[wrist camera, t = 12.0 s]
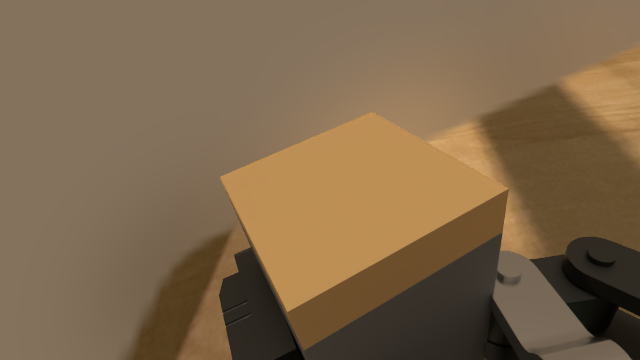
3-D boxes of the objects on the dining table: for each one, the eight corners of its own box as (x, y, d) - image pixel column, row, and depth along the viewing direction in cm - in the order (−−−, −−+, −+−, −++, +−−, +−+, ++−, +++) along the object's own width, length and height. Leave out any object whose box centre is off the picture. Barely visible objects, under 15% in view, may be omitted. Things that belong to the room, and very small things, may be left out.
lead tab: (399, 331, 15) (372, 112, 9) (474, 428, 12) (508, 189, 6) (313, 385, 14) (219, 177, 8) (371, 507, 11) (287, 312, 5)
